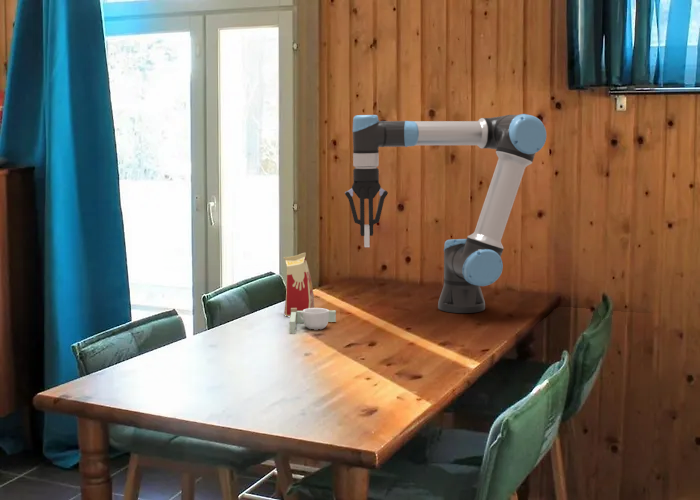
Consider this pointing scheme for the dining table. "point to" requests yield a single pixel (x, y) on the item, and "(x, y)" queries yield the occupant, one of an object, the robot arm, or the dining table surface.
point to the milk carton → (298, 284)
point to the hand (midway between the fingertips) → (366, 246)
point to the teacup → (315, 318)
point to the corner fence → (296, 318)
